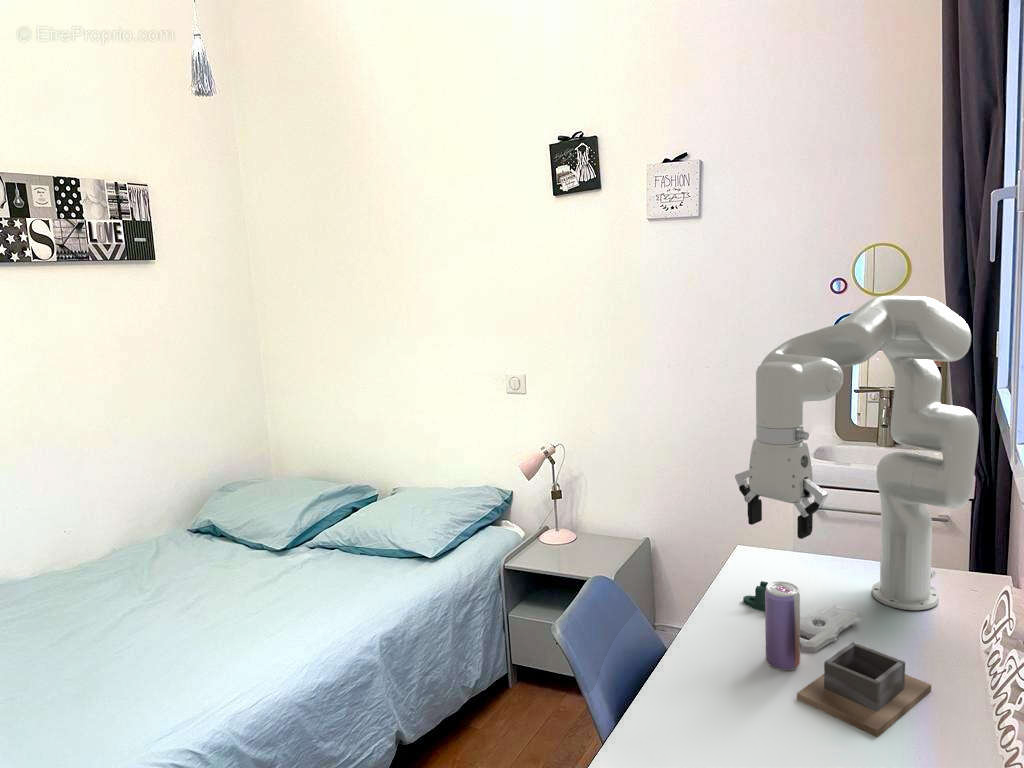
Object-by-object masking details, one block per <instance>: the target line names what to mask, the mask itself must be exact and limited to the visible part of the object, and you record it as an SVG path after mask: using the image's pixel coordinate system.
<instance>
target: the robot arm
mask: <svg viewBox="0 0 1024 768" xmlns="http://www.w3.org/2000/svg"><path fill="white" fill-rule="evenodd" d="M971 343H972V333H971V329H970V327H969V325H968V323H966V321H965V319H964V318H962V317H961V316H959V314H957V313H956V312H955V311H953V310H951V309H950V308H949V307H948V306H946V305H945V304H943V303H942V302H939V300H936V299H934V298H931V297H927V296H915V295H914V296H910V295H904V296H903V295H882V296H877V297H874V298H872V299H870V300H868V301H867V302H865V303H864V304H862V305H861V306H860V307H858V308H857V309H856V310H854V311H853V312H852V313H851V314H849V315H848V316H846V317H845V318H844V319H842V320H840V321H839V322H838V323H836V324H833V325H830V326H825V327H822V328H820V329H816V330H813V331H810V332H807V333H804V334H801V335H798V336H795V337H793V338H790V339H788V340H786V341H784V342H783V343H781V344H780V345H778V346H777V347H775V348H774V349H773V350H772V351H770V352H769V353H768V354H767V355H766V356H765V357H764V358H763V360H762V361H761V364H760V365H758V366H757V368H756V372H755V411H756V412H755V417H756V418H755V420H756V421H755V439H753V441H752V446H751V452H750V456H749V467H748V469H747V470H745V471H742V472H739V473H737V474H735V475H734V478H735V480H736V483H737V486H738V490H739V492H740V493H741V494H742V495H743V497H744V498H743V499H744V501H745V503H747V518H748V520H747V522H748V523H747V524H748V525H751V526H753V525H755V524H757V523H759V522H762V520H763V501H762V499H760V497H763V498H766V499H767V498H768V499H770V500H771V499H772V500H776V501H779V502H784V503H789V504H793V506H795V508H796V509H797V511H798V512H799V514H800V515H798V516H797V526H796V527H797V529H796V530H797V532H796V533H797V538H798V539H800V540H803V539H805V538H806V537H809V536H811V534H812V532H813V526H814V523H813V521H814V519H813V515H814V514H815V513H817V511H819V510H821V508H822V507H823V504H824V503H825V501H826V500H827V498H828V496H829V495H828V493H827V492H826V491H825V490H824V489H823V488H822V487H820V486H819V485H817V483H815V482H813V467H812V460H811V454H810V450H809V447H808V443H807V442H804V441H808V439H809V437H810V434H809V432H808V431H805V430H804V426H803V423H804V421H803V420H804V419H803V418H804V417H803V416H804V415H803V414H804V413H803V410H804V407H803V405H804V402H816V401H817V402H821V401H826V400H829V399H831V398H833V397H835V396H836V395H837V394H838V393H839V391H840V390H841V388H842V386H843V384H844V372H843V369H842V368H846V367H851V366H856V365H857V366H858V365H860V364H863V363H865V362H867V361H869V360H870V359H871V358H872V357H873V356H874V355H875V354H877V353H878V352H879V351H882V352H883V354H884V355H885V356H886V358H887V359H888V362H889V363H890V366H891V368H892V371H893V374H894V389H893V390H894V391H893V397H892V398H893V400H892V406H891V418H890V436H891V439H893V441H894V442H895V443H897V444H899V445H903V446H906V447H910V448H917V449H919V450H927V451H932V452H938V453H941V454H942V458H939V457H938V458H936V457H931V456H928V455H922V454H917V453H911V452H905V451H904V452H903V451H896V452H890V453H887V454H885V455H884V456H883V457H882V458H881V459H880V460H879V462H878V464H877V467H876V481H877V487H878V492H879V498H880V499H879V500H880V519H881V520H880V557H879V558H880V563H879V564H880V565H879V567H880V570H879V571H880V572H879V573H880V574H879V576H880V577H879V581H878V582H875V583H874V584H873V586H872V587H871V593H872V596H873V597H874V599H876V600H877V601H878V602H880V603H881V604H883V605H886V606H889V607H890V608H894V609H900V610H905V611H923V610H929V609H931V608H934V607H936V606H937V605H938V604H939V595H938V592H937V591H935V589H933V588H932V587H931V581H932V579H933V578H935V577H936V576H937V572H936V570H934V569H933V568H932V545H933V544H932V543H933V521H932V520H933V519H932V516H931V513H930V510H929V508H928V506H927V505H929V506H933V507H938V508H941V509H942V508H943V509H947V510H960V509H962V508H964V507H965V506H966V505H967V503H968V502H969V500H970V498H971V494H972V491H973V488H974V487H973V486H974V479H975V470H976V465H977V464H976V463H977V455H978V449H979V437H980V428H979V422H978V418H977V417H976V415H975V414H974V413H973V411H971V410H970V409H968V408H966V407H963V406H957V405H949V404H942V402H941V397H942V394H941V393H942V385H943V381H942V380H943V378H942V375H941V372H940V370H939V368H938V366H937V365H936V363H935V362H936V361H937V362H945V363H946V362H948V363H949V362H956V361H959V360H961V359H963V358H964V357H965V356H966V354H968V352H969V349H970V347H971ZM934 361H935V362H934ZM747 479H748V480H747ZM813 496H814V500H813V502H812V501H811V499H810V498H812V497H813Z"/></svg>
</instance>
